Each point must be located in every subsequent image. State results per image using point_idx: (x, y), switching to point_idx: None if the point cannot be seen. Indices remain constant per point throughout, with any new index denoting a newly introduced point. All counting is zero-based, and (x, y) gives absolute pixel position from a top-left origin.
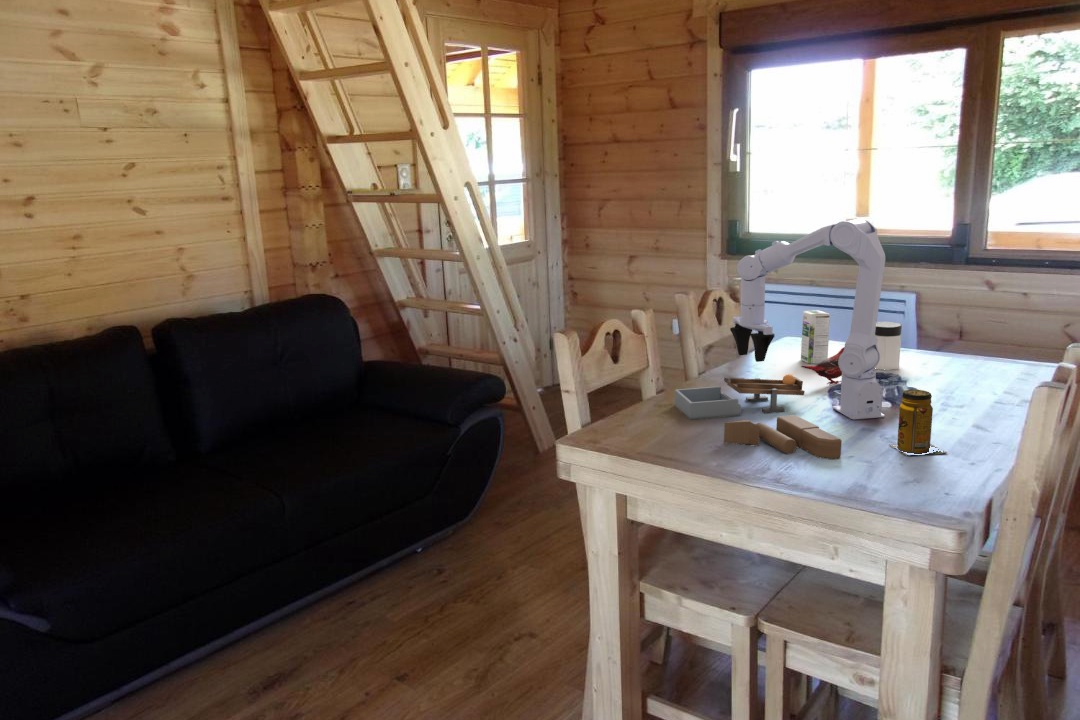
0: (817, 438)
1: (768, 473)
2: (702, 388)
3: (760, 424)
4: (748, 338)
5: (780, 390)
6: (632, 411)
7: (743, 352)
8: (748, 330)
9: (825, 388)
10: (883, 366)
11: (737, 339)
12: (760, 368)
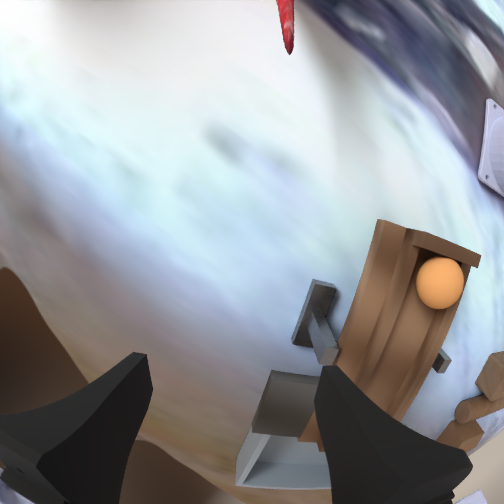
0: None
1: (498, 421)
2: (257, 457)
3: (472, 420)
4: (98, 416)
5: (445, 337)
6: (234, 492)
7: (146, 383)
8: (73, 469)
9: (307, 19)
10: None
11: (123, 469)
12: (18, 85)
